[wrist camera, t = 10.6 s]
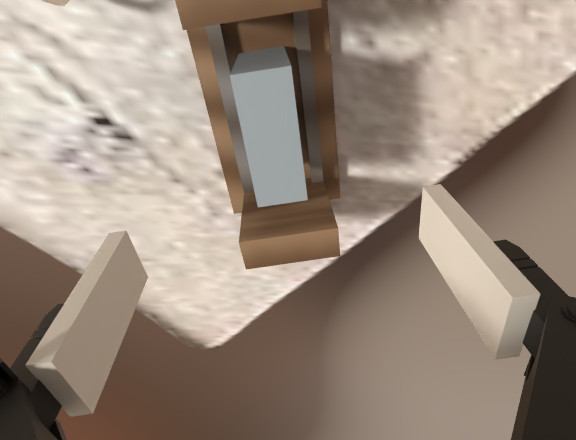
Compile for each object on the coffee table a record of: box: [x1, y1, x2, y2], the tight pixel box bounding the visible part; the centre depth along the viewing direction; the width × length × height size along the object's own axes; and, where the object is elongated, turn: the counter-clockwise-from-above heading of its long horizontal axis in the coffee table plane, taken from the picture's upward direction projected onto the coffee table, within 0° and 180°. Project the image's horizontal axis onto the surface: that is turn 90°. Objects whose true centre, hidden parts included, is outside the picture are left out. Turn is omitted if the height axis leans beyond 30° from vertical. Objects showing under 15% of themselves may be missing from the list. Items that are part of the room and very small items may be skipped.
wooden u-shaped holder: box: [175, 0, 340, 269], centre depth 30 cm, size 22×12×11 cm, turn 8°
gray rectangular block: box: [230, 46, 308, 207], centre depth 30 cm, size 10×4×10 cm, turn 8°
